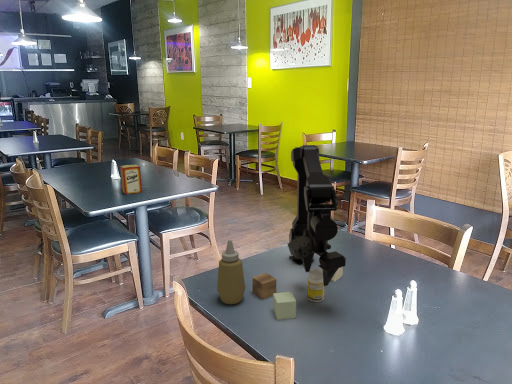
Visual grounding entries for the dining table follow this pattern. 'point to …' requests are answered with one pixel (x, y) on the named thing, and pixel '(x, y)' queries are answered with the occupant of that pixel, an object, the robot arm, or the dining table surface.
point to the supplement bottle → (315, 285)
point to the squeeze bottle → (230, 276)
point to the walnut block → (264, 285)
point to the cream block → (337, 274)
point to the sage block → (284, 305)
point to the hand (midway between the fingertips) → (316, 278)
